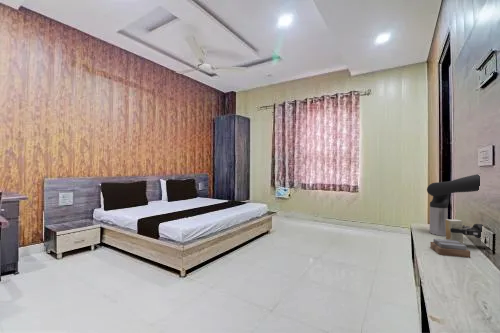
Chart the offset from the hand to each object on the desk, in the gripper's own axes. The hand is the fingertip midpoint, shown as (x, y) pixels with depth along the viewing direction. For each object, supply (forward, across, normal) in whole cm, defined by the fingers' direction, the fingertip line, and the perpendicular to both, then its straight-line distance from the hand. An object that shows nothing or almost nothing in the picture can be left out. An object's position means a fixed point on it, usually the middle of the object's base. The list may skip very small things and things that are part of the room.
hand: (448, 229), depth 136 cm
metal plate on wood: (+5, +14, +9) cm, 18 cm away
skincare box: (-3, 0, +7) cm, 8 cm away
